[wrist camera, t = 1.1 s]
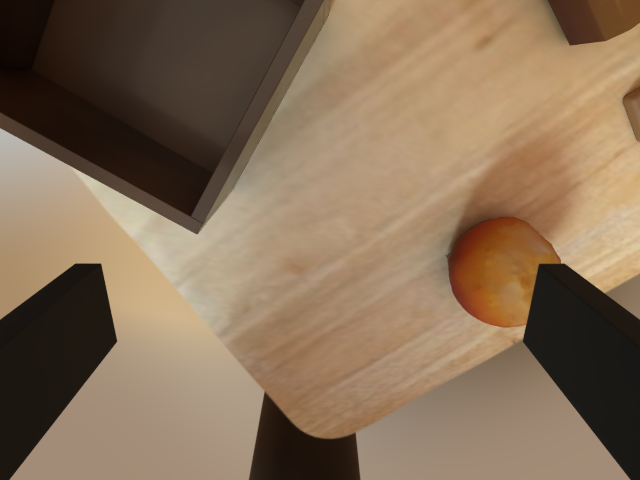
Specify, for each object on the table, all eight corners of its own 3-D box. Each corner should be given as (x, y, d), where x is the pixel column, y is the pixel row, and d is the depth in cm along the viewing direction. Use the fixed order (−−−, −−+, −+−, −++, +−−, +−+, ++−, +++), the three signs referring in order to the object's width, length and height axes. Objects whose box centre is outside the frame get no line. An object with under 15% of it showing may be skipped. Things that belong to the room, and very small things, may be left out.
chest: (329, 14, 28) (333, -18, 19) (231, 191, 33) (197, 234, 24) (97, -147, 25) (-29, -277, 16) (24, 73, 30) (-108, 70, 21)
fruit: (404, 262, 33) (482, 273, 26) (464, 202, 36) (550, 197, 29) (451, 333, 36) (535, 361, 29) (504, 272, 38) (593, 284, 31)
